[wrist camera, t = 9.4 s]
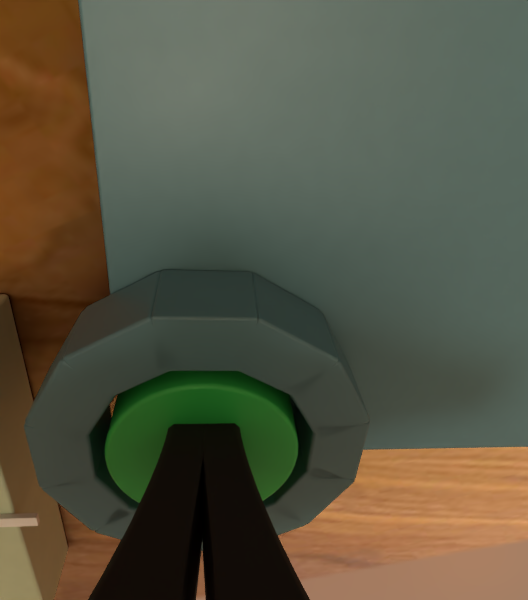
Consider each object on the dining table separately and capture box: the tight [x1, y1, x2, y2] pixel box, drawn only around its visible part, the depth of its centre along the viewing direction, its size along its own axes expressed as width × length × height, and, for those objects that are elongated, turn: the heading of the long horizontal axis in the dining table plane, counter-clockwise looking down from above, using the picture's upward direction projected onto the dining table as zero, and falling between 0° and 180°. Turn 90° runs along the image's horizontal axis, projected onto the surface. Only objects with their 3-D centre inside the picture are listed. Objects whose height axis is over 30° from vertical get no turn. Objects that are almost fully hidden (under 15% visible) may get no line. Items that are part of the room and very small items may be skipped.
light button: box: [105, 371, 299, 503], centre depth 10 cm, size 4×4×2 cm
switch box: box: [24, 0, 528, 551], centre depth 9 cm, size 17×13×4 cm
